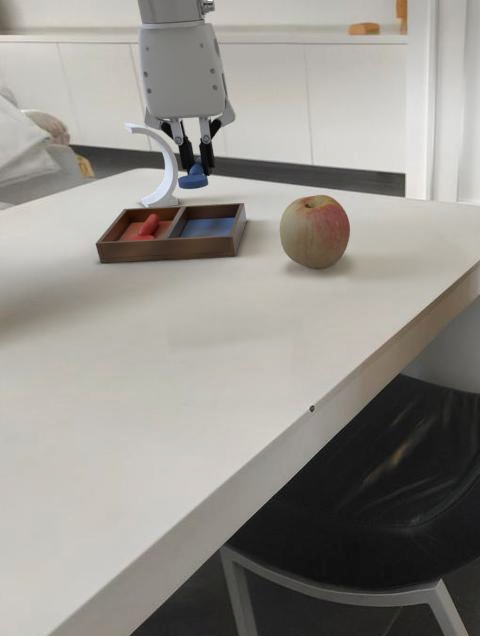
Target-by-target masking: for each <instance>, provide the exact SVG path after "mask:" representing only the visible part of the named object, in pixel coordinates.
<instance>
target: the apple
mask: <svg viewBox="0 0 480 636" xmlns="http://www.w3.org/2000/svg"><path fill="white" fill-rule="evenodd" d="M350 235H351V225H350V220H349V217H348V214H347V212H346V210H345V209H344V207H343V206H342V205H341V203H340V202H339V201H337V200H336V199H335V198H334V197H331V196H330V195H328V194H327V195H326V194H317V195H309V196H304V197H303V196H302V197H300V198H298V199H295V200H294V201H292V202H291V203H289V204H288V206H287V207H286V208H285V210H284V211H283V213H282V215H281V218H280V223H279V237H280V243H281V244H280V245H281V246H282V249H283V251H284V253H285V254H286V256H287V257H288V258H289V259H290V260H292V261H293V262H295V263H296V264H298V265H300V266H303V267H306V268H309V269H315V270H326V269H329V268H331V267H332V266H334V265H336V263H337V262H339V261H340V259H341V258H342V257H343V256H344V254H345V252H346V250H347V248H348V244H349V242H350V241H349V240H350Z"/></svg>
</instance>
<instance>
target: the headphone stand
mask: <svg viewBox="0 0 480 636" xmlns="http://www.w3.org/2000/svg"><path fill="white" fill-rule="evenodd" d="M123 126H124V130H126V131H127V132H128V133H131V134H138V135H139V134H141V135H146V136H148V137H150V138H151V139H152V140H153V141H154V142H155V143H156V144H157V147H159V149H160V151H161V153H162V156H163V161H164V173H163V174H164V175H163V178H162V180H161V183H160V184H159V186H158V187H157V188H156V189H155V190H154V191H153V192H152V193H150V194H148V195H147V196H143V197H140V202H141V203H140V204H142V206H143V207H144V208H150V207H170V206H180V205H179V199H178V198H177V197H175V196H174V195H173V194H174V191H175V190H176V187H177V184H178V178H179V165H178V162H177V161H178V160H177V157H176V155H175V152H174V151H173V149H172V147H171V145H169V143H168V142H167V141H166V140H165V139H164V137H162V136H161V135H159V134H158V133H156V132H155V131H153V130H151V128H149V127H147V126H144V125H142V124H138V123H134V122H123Z"/></svg>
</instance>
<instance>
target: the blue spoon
mask: <svg viewBox="0 0 480 636" xmlns="http://www.w3.org/2000/svg"><path fill="white" fill-rule="evenodd" d="M177 184H178V187H179V188H180V189H183V190H195V189H201V188H205V187H207V186H208V185H209V179H208V176H206V175H204V170H203V167H202V161H201V156H200V155H199V156H198V157H197V159H196V160H195V164H194V165H193V167H192V168H191V170H190V172H189V175H188V174H185V175H183V176H180V177H178V180H177Z"/></svg>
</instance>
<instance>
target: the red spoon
mask: <svg viewBox="0 0 480 636" xmlns="http://www.w3.org/2000/svg"><path fill="white" fill-rule="evenodd" d="M159 222H160V219H159V217H158V216H157V215H156V214H151V215H150V216H149V217H148V219H147V220H146V222H145V223H144V224H143V226H142V227H141V229H140V230H139V232H138V236H134V237H131V238H129V239H127V240H126V241H130V240H150V239H155V238H154V237H153V236H151V235H152V233H153V232H154V230H155V229H156V227H157V226H158V224H159Z"/></svg>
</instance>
